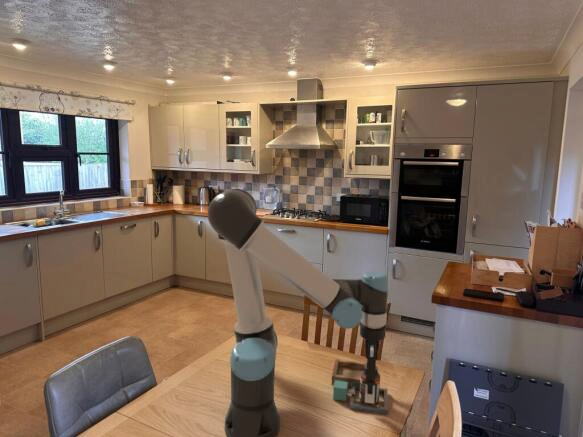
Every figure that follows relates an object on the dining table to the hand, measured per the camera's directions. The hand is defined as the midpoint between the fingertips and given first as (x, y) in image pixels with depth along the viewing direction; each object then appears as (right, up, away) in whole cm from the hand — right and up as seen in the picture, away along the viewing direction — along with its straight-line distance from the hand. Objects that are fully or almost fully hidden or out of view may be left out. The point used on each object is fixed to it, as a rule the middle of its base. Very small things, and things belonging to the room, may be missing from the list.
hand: (369, 390), depth 126 cm
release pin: (-8, -3, +1) cm, 8 cm away
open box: (-4, -1, +13) cm, 13 cm away
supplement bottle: (0, -3, 0) cm, 3 cm away
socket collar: (0, -3, 0) cm, 3 cm away
